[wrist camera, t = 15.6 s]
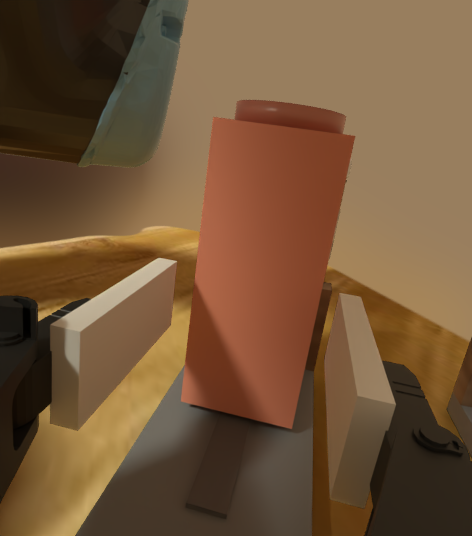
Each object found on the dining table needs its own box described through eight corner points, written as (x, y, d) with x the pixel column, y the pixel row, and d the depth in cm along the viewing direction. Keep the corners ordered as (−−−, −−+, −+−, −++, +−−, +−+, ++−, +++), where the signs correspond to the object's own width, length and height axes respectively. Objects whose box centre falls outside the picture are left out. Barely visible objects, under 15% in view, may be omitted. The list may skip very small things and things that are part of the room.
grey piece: (301, 665, 10) (355, 480, 9) (62, 584, 11) (64, 405, 10) (310, 377, 24) (330, 283, 22) (201, 352, 25) (212, 260, 23)
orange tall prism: (291, 429, 17) (360, 111, 13) (180, 401, 17) (216, 92, 14) (297, 369, 21) (348, 124, 18) (209, 349, 22) (241, 109, 18)
